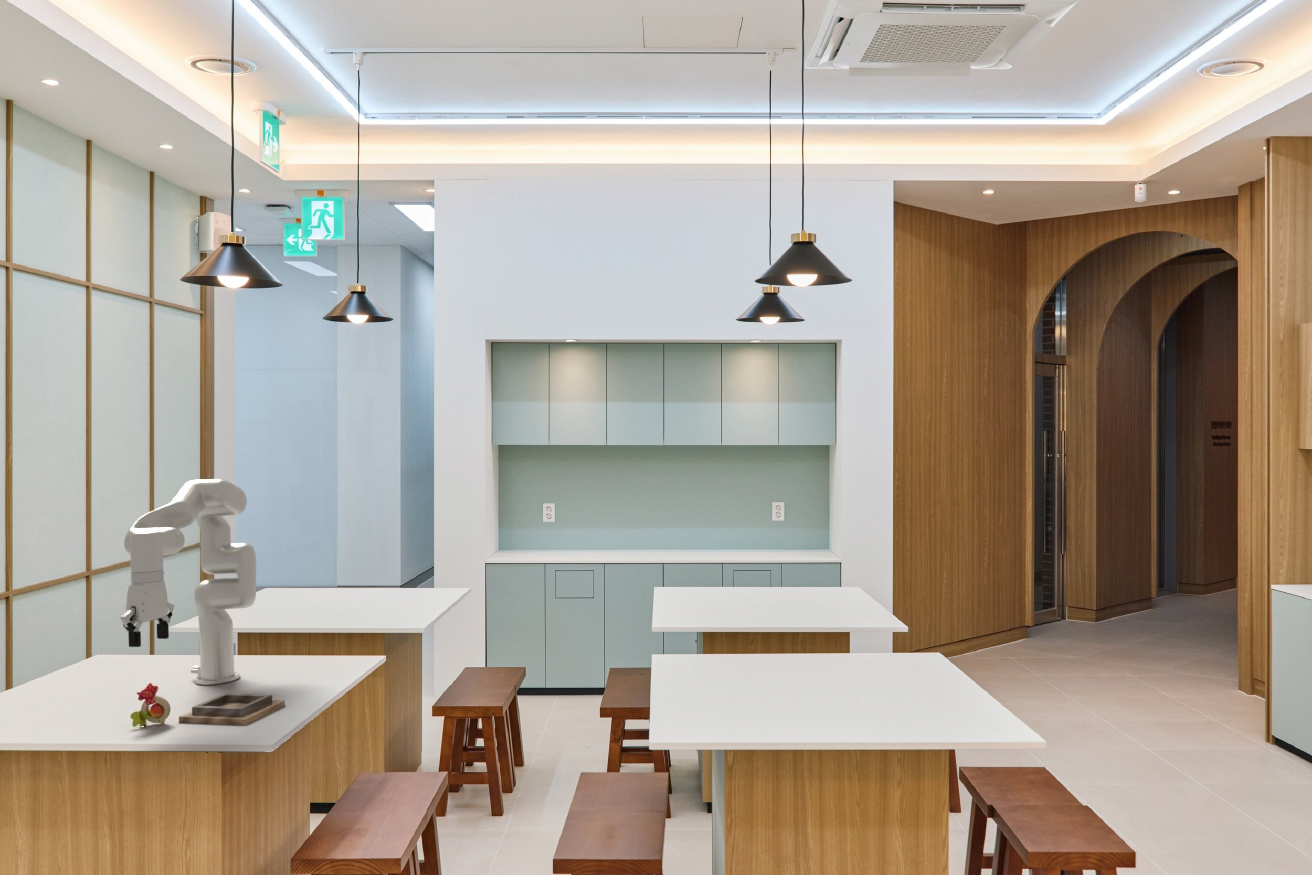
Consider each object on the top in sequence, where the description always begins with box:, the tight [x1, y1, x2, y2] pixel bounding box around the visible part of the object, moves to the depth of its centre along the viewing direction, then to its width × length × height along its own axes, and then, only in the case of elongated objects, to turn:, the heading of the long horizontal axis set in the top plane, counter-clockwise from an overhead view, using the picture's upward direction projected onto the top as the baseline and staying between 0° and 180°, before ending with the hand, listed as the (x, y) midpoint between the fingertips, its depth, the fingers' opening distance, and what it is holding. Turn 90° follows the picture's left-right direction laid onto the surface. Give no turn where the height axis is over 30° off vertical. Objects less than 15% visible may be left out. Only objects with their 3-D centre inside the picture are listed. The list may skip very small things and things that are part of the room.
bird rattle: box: [130, 682, 171, 727], centre depth 239 cm, size 6×11×9 cm
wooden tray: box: [178, 692, 286, 726], centre depth 246 cm, size 20×17×4 cm
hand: (149, 642), depth 238 cm, fingers open, 9 cm apart
